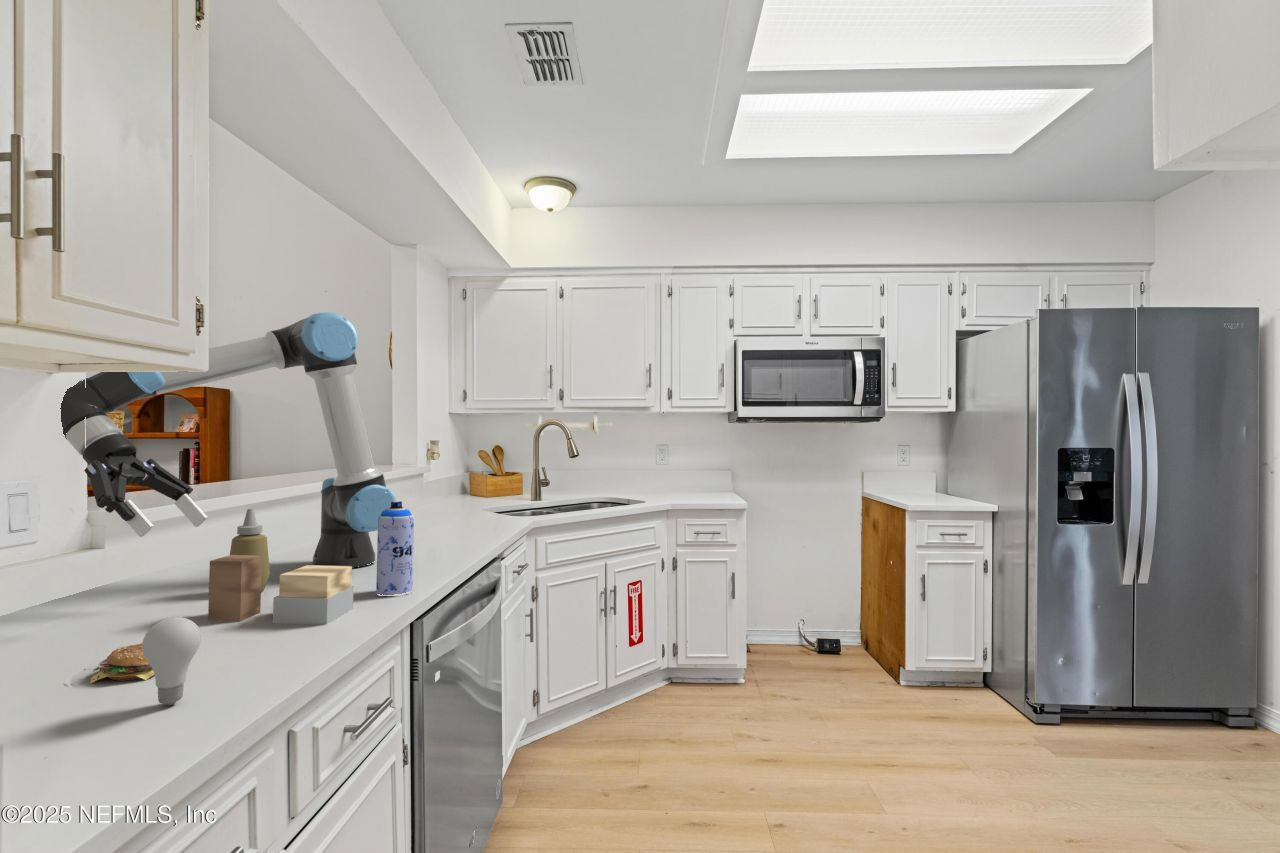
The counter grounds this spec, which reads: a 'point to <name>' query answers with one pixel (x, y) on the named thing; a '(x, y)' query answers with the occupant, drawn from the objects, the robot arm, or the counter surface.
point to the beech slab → (315, 581)
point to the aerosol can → (395, 550)
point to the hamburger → (125, 665)
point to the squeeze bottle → (252, 543)
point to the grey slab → (312, 608)
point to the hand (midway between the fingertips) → (176, 526)
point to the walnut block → (234, 587)
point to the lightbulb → (171, 655)
